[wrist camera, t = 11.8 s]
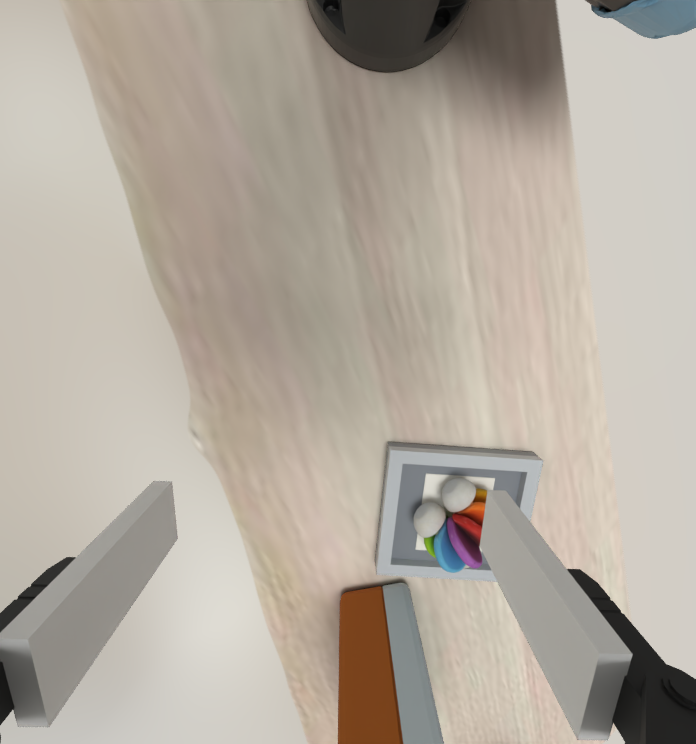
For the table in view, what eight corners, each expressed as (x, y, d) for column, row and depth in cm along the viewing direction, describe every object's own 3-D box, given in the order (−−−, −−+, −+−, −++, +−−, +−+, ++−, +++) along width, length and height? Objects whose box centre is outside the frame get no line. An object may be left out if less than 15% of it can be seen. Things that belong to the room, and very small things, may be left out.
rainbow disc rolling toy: (509, 509, 41) (544, 554, 33) (447, 559, 42) (468, 613, 35) (462, 461, 39) (488, 498, 32) (399, 515, 41) (411, 562, 33)
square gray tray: (388, 441, 40) (390, 450, 38) (532, 451, 40) (543, 460, 38) (374, 560, 43) (376, 574, 41) (508, 568, 44) (517, 582, 42)
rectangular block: (338, 587, 44) (334, 829, 24) (406, 575, 44) (459, 810, 24) (365, 697, 48) (380, 984, 28) (427, 686, 48) (488, 970, 28)
